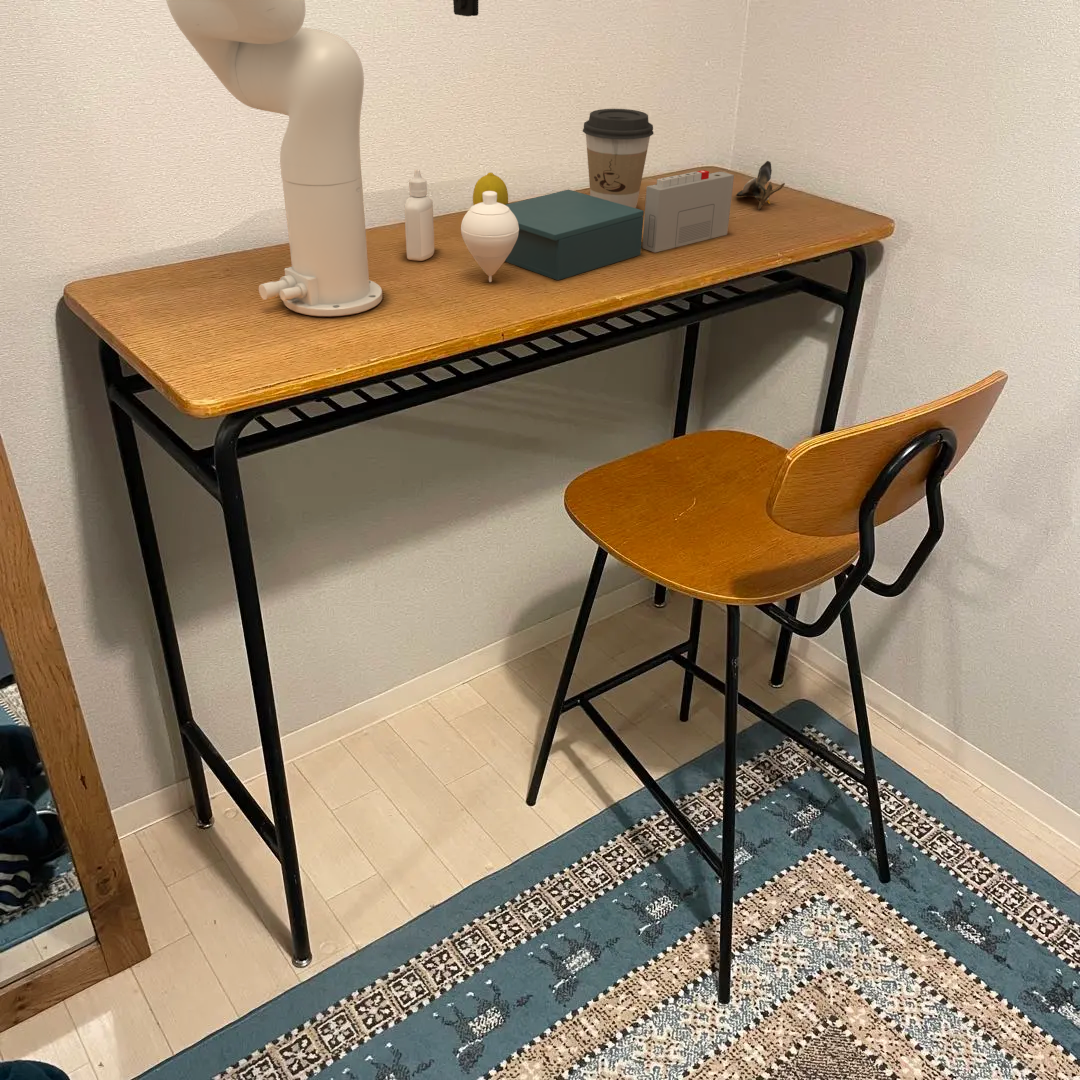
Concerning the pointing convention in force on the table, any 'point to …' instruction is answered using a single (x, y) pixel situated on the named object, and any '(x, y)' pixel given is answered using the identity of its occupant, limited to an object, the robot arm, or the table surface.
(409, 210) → the eye dropper bottle
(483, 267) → the spinning top
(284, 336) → the table surface
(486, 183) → the lemon
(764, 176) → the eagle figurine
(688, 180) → the cassette player
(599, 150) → the coffee cup
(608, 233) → the chest
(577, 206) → the lid
